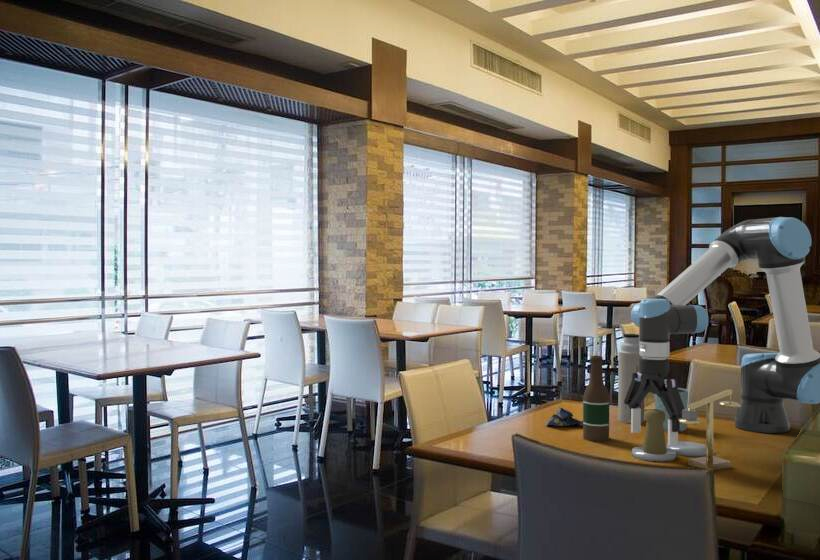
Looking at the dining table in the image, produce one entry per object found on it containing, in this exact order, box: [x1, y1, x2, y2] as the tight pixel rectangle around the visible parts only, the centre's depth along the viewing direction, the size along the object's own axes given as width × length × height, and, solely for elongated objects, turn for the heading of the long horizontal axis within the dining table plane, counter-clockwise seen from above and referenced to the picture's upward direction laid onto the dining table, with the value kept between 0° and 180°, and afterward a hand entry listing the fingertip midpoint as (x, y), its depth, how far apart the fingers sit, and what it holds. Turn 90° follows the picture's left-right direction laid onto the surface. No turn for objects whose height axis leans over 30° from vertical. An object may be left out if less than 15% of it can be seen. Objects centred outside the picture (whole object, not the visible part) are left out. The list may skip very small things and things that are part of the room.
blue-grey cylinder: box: [653, 387, 689, 432], centre depth 216 cm, size 10×10×12 cm
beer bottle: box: [582, 355, 610, 443], centre depth 203 cm, size 8×8×24 cm
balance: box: [679, 388, 741, 471], centre depth 175 cm, size 19×6×19 cm, turn 114°
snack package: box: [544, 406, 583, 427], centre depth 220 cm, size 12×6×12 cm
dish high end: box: [666, 440, 706, 458], centre depth 190 cm, size 11×11×1 cm
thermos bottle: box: [617, 333, 645, 424], centre depth 226 cm, size 8×8×28 cm
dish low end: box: [631, 445, 677, 463], centre depth 185 cm, size 11×11×1 cm
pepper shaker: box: [642, 408, 667, 454], centre depth 185 cm, size 6×6×11 cm
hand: (653, 438), depth 185 cm, fingers open, 13 cm apart
